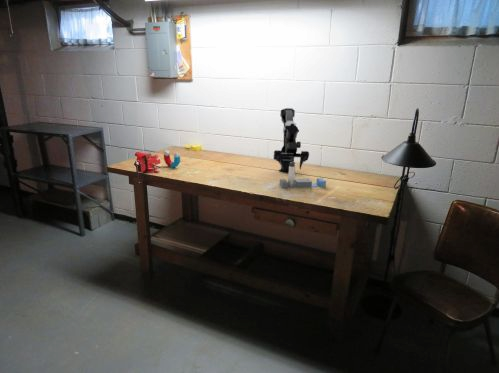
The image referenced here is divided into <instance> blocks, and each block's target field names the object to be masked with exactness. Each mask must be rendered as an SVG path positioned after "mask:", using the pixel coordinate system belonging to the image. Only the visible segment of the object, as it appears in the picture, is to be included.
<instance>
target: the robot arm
mask: <svg viewBox="0 0 499 373" xmlns="http://www.w3.org/2000/svg"><path fill="white" fill-rule="evenodd" d="M295 112H296V111H295V109H294V108H292V107H285V108H283V109H281V110H280V118H281V119H280V120H281V122H282V124H283V130H282V133H283V146H282V147H281V150H280V149H279V150H277V149H275V150H274V151H273V160H274V161H277V163H278V164H279V165H280V168H279V169H278V171H279V172H285V173H289V166H290V162H295V158H299V170H301V169H302V165H303V164H304V162H307V161H308V159H309V157H310V152H309V151H308V150H300V151H301V152H300V153H298V149H301V147H302V146H301V145H302V143H301V141H297V137H298V133H299V132H300V130H299V128H298V126H297V123H296V122H295V121H294V118H295V116H296V115H295V114H296V113H295Z"/></svg>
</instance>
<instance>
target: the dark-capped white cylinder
mask: <svg viewBox="0 0 499 373" xmlns="http://www.w3.org/2000/svg"><path fill="white" fill-rule="evenodd" d="M295 175H296V162H295V161H293V162H290V166H289V172H288V175H287V176H288V177H287V178H288V180H287V182H288V186H289V187H294V179H295Z"/></svg>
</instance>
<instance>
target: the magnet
mask: <svg viewBox="0 0 499 373" xmlns="http://www.w3.org/2000/svg"><path fill="white" fill-rule="evenodd" d="M170 155H171V151H169V150H168V149H167V150H164V152H163V160H164V162H165V165H167V167H169V168H176V167H179V165H180V163H181V154H180V151H179V152H176V153H173V154H172V155H173V161H172V159H171V156H170Z"/></svg>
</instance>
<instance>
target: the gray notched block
mask: <svg viewBox="0 0 499 373" xmlns="http://www.w3.org/2000/svg"><path fill="white" fill-rule="evenodd" d="M278 184H279V186H280V187H281V188H282V189H298V188H299V189H302V188H325V187H327V186H326V185H327V180H325V179H324V178H323V177H317V178H316V181H315V182H313V181H312V180H310V179H309V178H294V187H289V186H288V180H287V179H286V178H281V179H279V183H278Z"/></svg>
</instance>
